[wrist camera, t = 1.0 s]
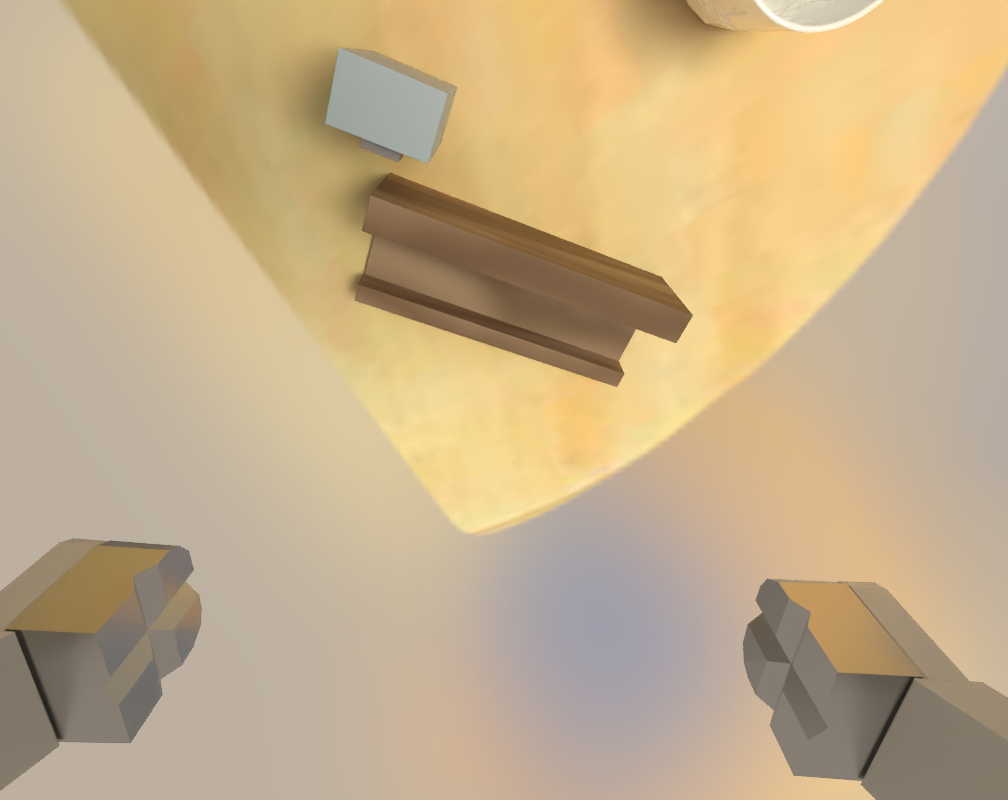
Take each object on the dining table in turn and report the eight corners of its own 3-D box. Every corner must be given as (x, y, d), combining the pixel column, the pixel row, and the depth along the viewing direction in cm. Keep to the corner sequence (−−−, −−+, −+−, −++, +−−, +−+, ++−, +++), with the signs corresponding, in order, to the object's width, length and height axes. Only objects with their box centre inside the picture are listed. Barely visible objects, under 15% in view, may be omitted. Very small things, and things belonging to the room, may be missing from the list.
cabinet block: (375, 51, 32) (339, 47, 24) (457, 86, 33) (447, 93, 25) (360, 121, 33) (322, 138, 26) (437, 153, 34) (423, 178, 27)
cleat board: (390, 173, 35) (370, 195, 29) (661, 277, 39) (692, 315, 33) (361, 287, 39) (338, 327, 33) (610, 371, 43) (630, 420, 37)
